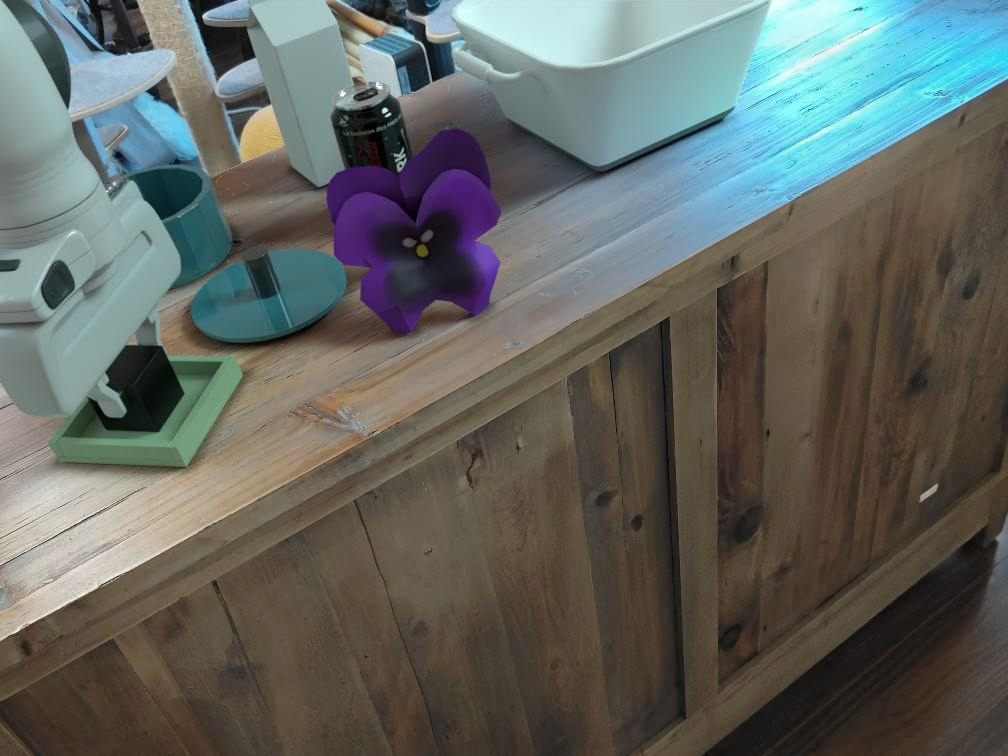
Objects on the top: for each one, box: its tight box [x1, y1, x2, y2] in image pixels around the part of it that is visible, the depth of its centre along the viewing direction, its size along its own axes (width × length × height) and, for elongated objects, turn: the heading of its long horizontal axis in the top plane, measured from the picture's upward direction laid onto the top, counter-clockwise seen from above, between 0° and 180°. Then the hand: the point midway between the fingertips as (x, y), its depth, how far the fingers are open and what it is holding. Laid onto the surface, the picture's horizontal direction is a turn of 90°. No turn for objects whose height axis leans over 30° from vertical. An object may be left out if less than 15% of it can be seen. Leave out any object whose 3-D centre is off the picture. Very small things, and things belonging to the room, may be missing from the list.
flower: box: [326, 127, 502, 335], centre depth 90 cm, size 15×15×14 cm
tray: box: [47, 354, 244, 468], centre depth 84 cm, size 12×12×2 cm
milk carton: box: [246, 0, 355, 188], centre depth 106 cm, size 7×7×19 cm
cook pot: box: [103, 164, 234, 290], centre depth 101 cm, size 14×14×6 cm
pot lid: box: [190, 245, 348, 344], centre depth 93 cm, size 15×15×5 cm
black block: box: [87, 344, 185, 432], centre depth 82 cm, size 5×5×5 cm
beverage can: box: [330, 81, 414, 176], centre depth 99 cm, size 7×7×12 cm
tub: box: [450, 0, 773, 173], centre depth 106 cm, size 34×27×13 cm
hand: (138, 386), depth 82 cm, fingers closed on black block, 5 cm apart
